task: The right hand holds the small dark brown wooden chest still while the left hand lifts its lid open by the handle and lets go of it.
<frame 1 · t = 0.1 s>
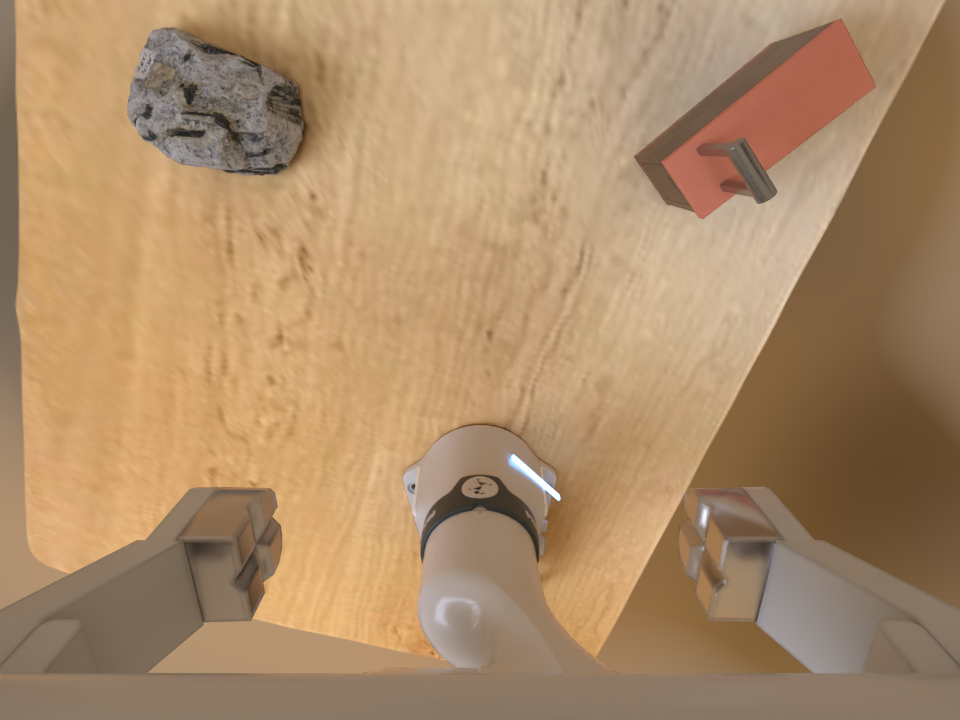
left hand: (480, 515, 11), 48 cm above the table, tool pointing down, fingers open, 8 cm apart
chest: (716, 128, 52), on the table
lid: (789, 123, 40), point 14 cm above the table, hinge at 0.0°
rock: (229, 110, 52), on the table
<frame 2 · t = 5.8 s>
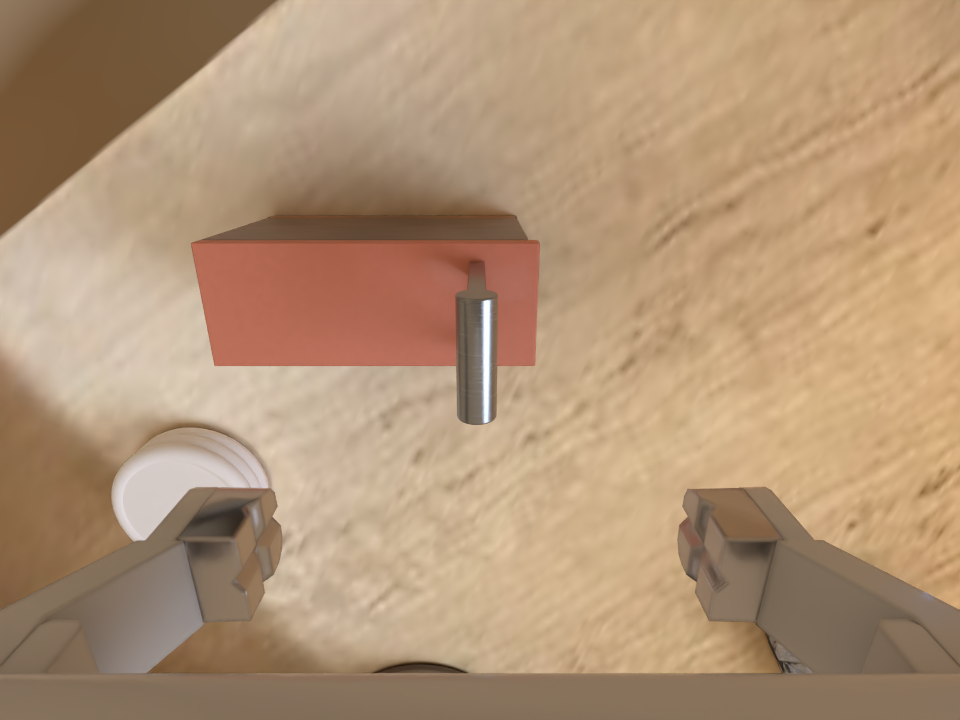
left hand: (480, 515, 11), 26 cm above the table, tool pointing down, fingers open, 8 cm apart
chest: (397, 262, 35), on the table
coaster: (206, 481, 41), on the table
lid: (355, 328, 22), point 14 cm above the table, hinge at 0.0°
rock: (824, 627, 46), on the table
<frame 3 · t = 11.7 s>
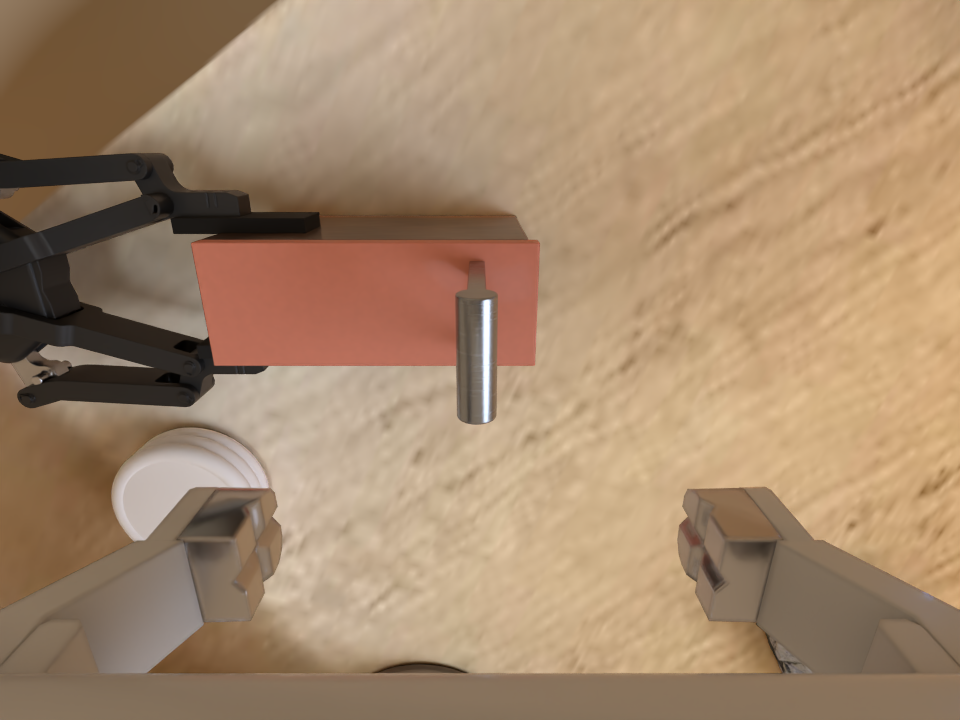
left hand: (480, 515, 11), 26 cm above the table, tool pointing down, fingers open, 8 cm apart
right hand: (318, 285, 29), fingers closed on chest, 6 cm apart
chest: (397, 262, 35), on the table, touching right hand
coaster: (206, 481, 41), on the table
lid: (355, 328, 22), point 14 cm above the table, hinge at 0.0°
rock: (824, 627, 46), on the table
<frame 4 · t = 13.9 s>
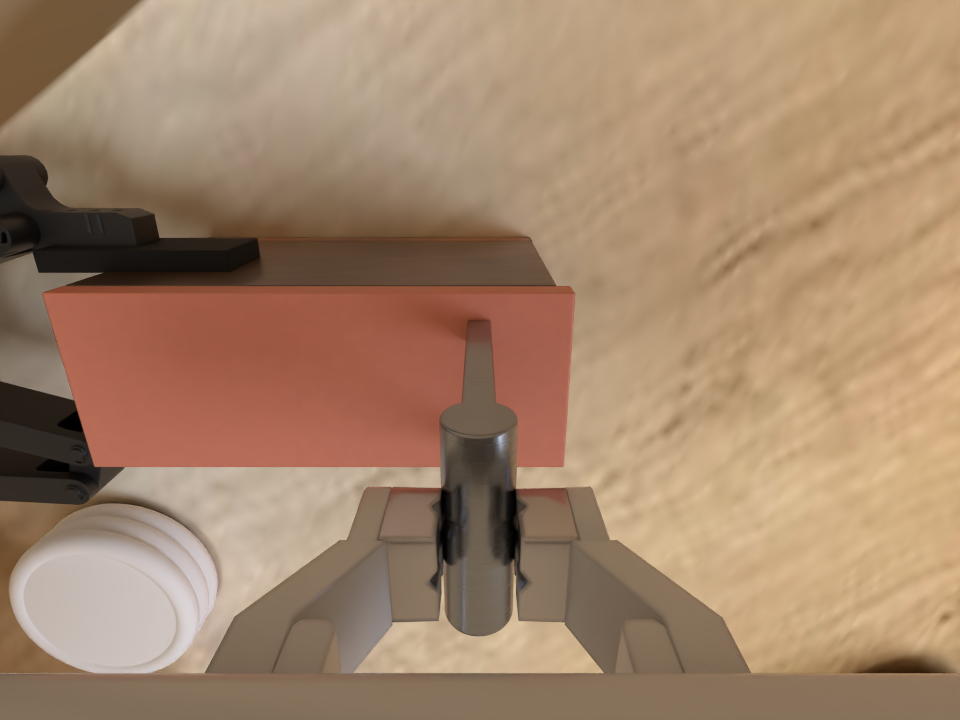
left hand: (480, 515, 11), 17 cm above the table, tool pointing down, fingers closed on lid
chest: (374, 298, 26), on the table, touching right hand
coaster: (139, 565, 33), on the table
lid: (284, 436, 14), point 14 cm above the table, hinge at 0.0°, touching left hand
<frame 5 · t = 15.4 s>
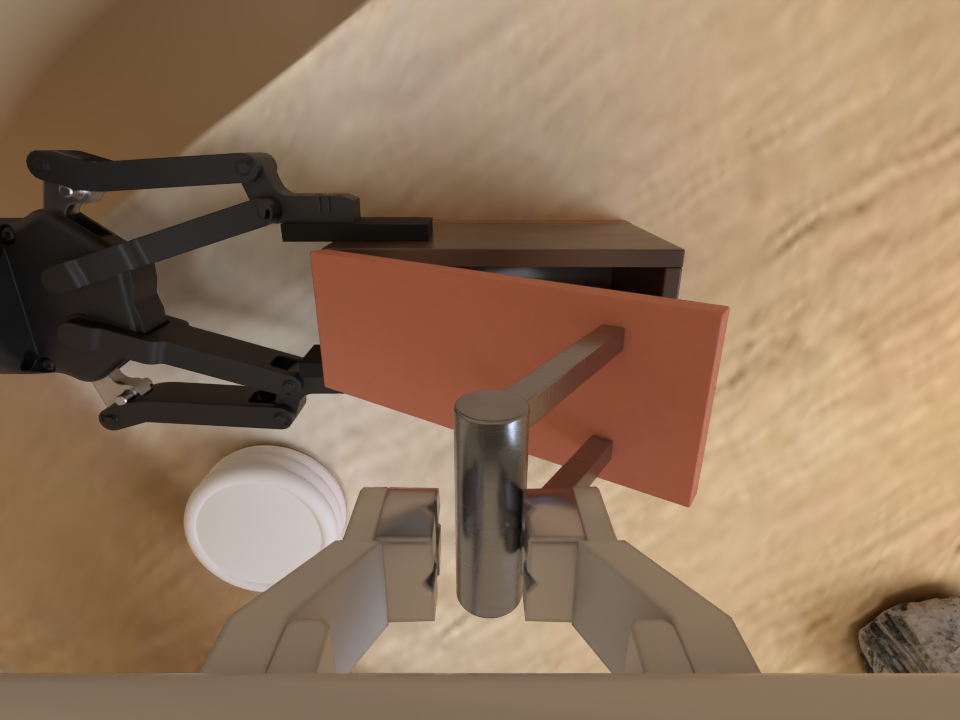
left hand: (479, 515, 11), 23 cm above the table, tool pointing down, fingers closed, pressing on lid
right hand: (431, 297, 26), fingers closed on chest, 6 cm apart
chest: (495, 271, 32), on the table, touching right hand
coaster: (278, 502, 38), on the table
lid: (410, 392, 16), point 17 cm above the table, hinge at 33.6°, touching left hand
rock: (922, 653, 44), on the table
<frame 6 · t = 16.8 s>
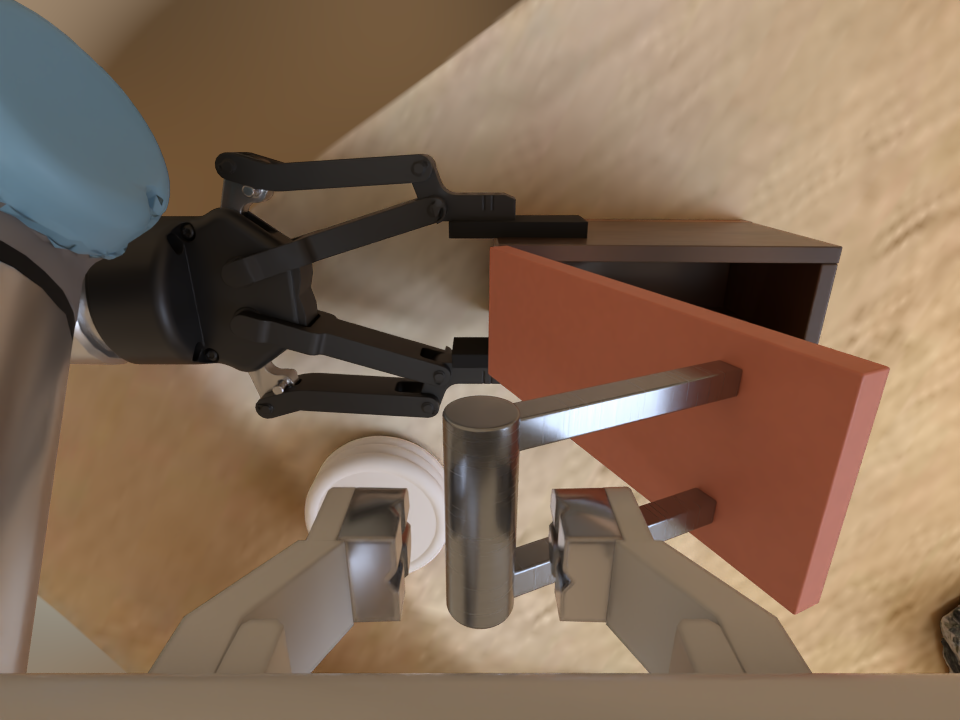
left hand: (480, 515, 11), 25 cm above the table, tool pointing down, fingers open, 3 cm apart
right hand: (577, 291, 28), fingers closed on chest, 6 cm apart
chest: (614, 268, 34), on the table, touching right hand
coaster: (385, 491, 40), on the table
lid: (508, 391, 16), point 19 cm above the table, hinge at 64.0°
when the right hand's fingers open (6 cm above the table, at t = 20.5 s): chest stays where it is, on the table.
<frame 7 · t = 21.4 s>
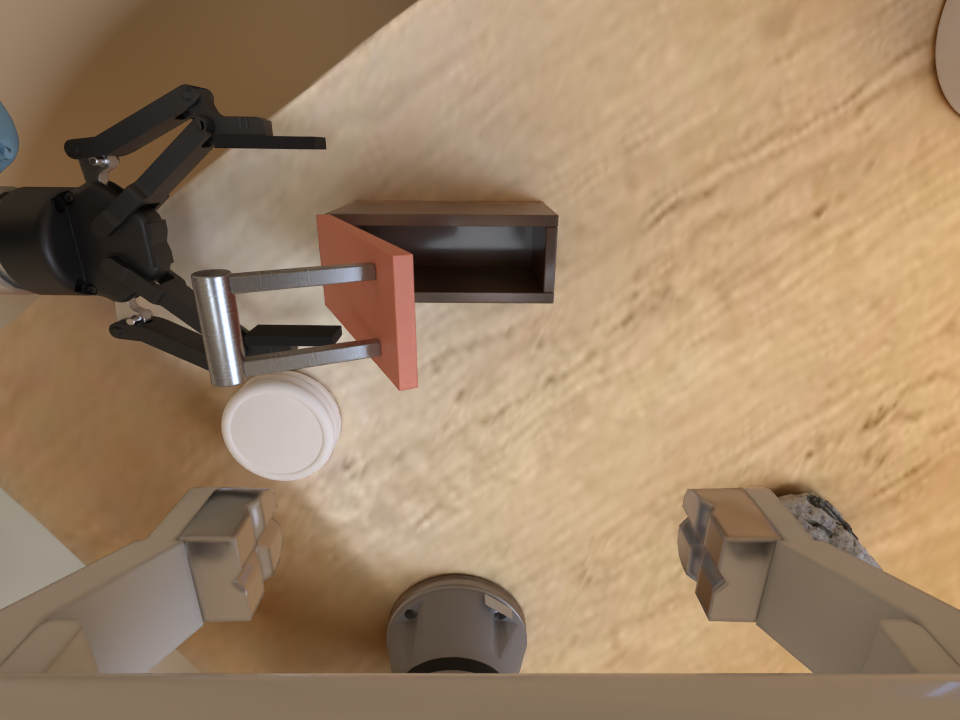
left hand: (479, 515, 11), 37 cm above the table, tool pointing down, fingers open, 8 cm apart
right hand: (330, 245, 39), fingers open, 13 cm apart
chest: (450, 238, 45), on the table
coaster: (289, 416, 51), on the table
lid: (287, 292, 27), point 19 cm above the table, hinge at 63.4°
rock: (789, 543, 56), on the table
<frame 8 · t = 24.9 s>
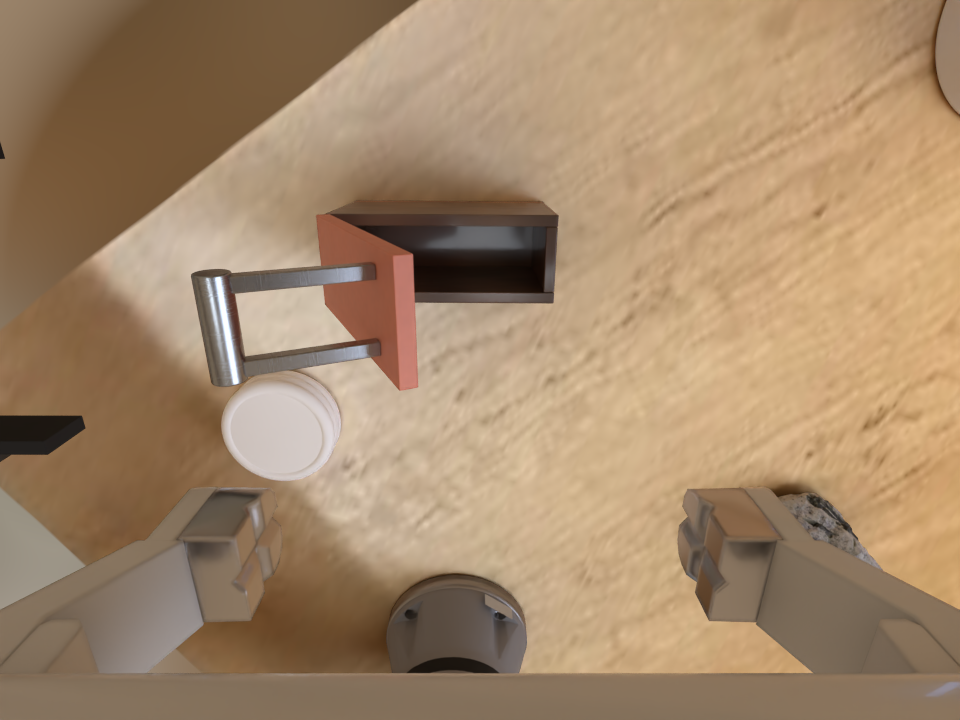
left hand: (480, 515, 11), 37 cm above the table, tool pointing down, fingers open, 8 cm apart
chest: (450, 238, 45), on the table
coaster: (289, 416, 51), on the table
lid: (288, 292, 27), point 19 cm above the table, hinge at 63.4°
rock: (789, 543, 56), on the table
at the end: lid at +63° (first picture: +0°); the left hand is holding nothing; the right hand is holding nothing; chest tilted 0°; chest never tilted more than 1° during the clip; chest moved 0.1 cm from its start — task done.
